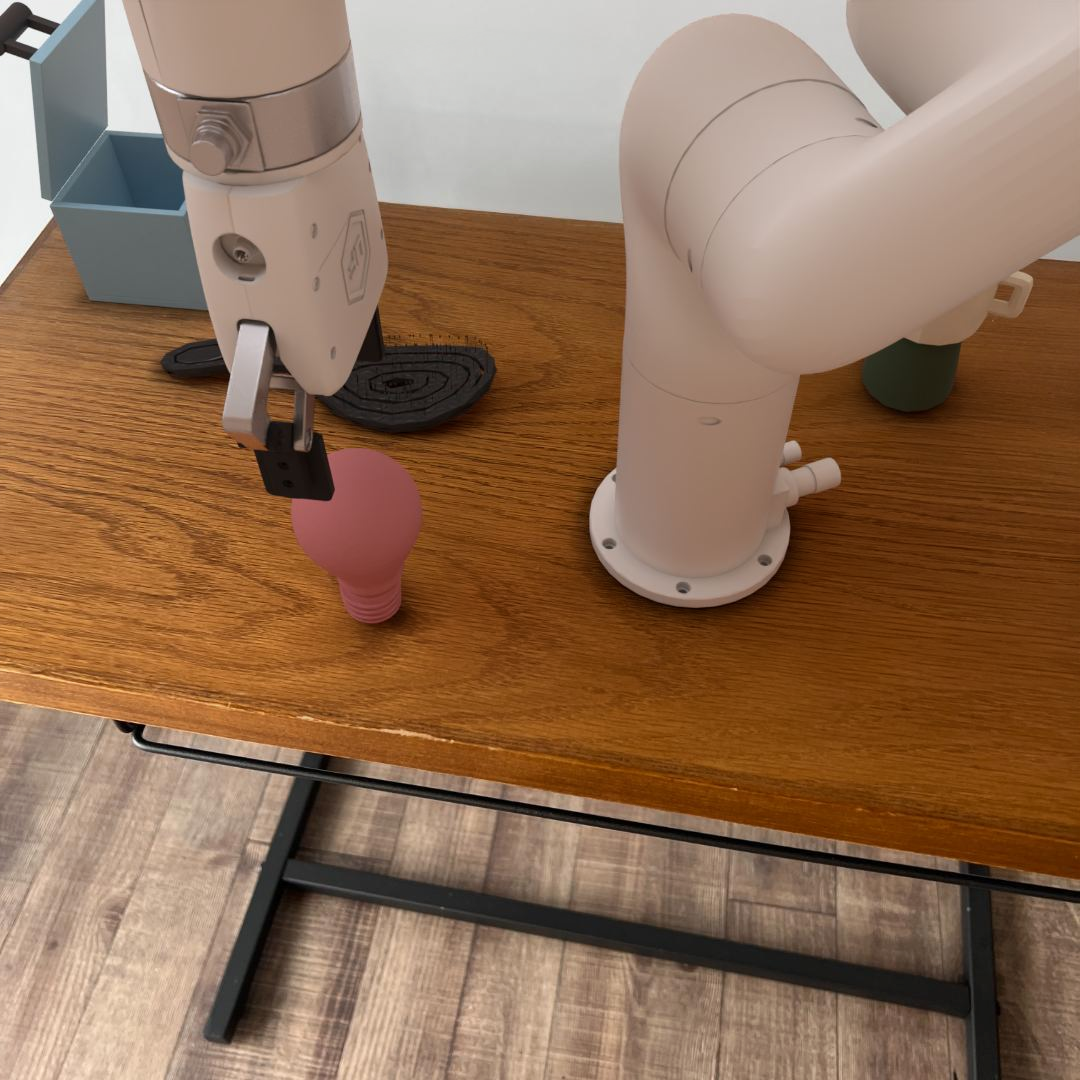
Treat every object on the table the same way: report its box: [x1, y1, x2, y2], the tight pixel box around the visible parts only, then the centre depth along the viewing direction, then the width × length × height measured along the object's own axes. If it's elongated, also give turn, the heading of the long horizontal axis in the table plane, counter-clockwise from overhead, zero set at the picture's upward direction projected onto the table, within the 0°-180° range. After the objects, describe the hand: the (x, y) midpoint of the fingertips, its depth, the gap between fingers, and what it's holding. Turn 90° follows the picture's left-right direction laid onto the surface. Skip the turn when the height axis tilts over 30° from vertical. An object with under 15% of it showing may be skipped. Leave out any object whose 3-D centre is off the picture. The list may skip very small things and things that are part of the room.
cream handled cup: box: [861, 270, 1034, 413], centre depth 72 cm, size 11×7×13 cm, turn 66°
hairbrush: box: [160, 333, 498, 434], centre depth 77 cm, size 8×4×25 cm
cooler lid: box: [0, 0, 109, 202], centre depth 76 cm, size 11×10×5 cm
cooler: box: [49, 129, 209, 312], centre depth 84 cm, size 10×10×9 cm
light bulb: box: [290, 447, 423, 624], centre depth 61 cm, size 7×7×12 cm
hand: (329, 421), depth 54 cm, fingers open, 9 cm apart
